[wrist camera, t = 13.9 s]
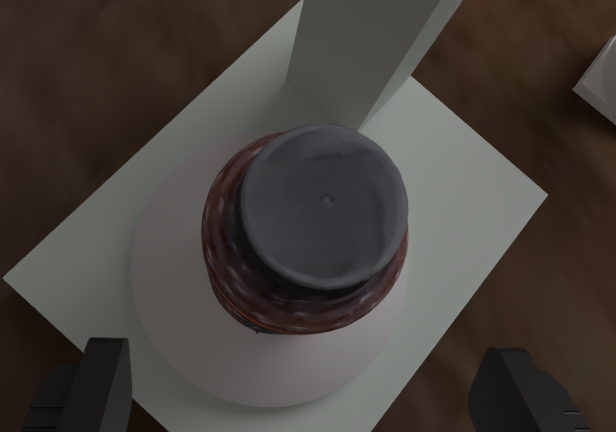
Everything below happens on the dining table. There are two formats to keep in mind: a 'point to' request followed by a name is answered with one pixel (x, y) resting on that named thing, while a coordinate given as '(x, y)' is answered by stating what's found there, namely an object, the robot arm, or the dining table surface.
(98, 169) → the dining table surface
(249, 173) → the supplement bottle
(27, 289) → the press
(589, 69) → the headphone stand
